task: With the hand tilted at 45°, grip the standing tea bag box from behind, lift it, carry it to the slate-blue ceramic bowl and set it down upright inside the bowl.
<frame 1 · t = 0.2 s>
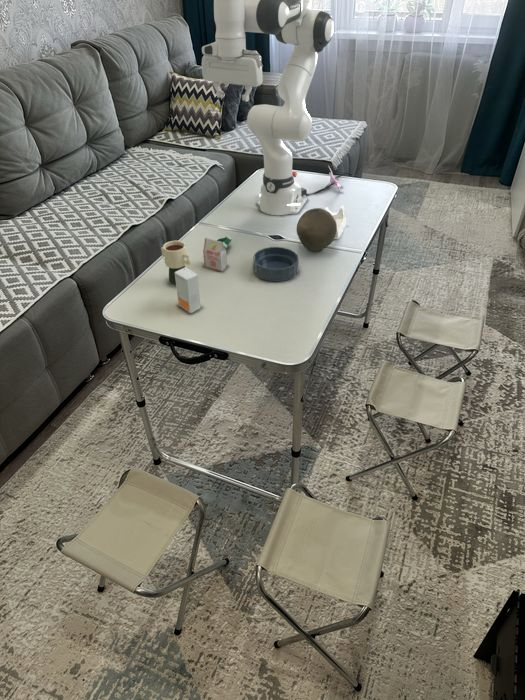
hand: (233, 99, 159), 48 cm above the table, tool pointing down, fingers open, 8 cm apart
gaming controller: (221, 250, 183), on the table
character mug: (178, 282, 166), on the table
bracket: (331, 232, 194), on the table
tea bag: (215, 267, 174), on the table
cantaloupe: (315, 250, 183), on the table
cosmetic box: (189, 307, 155), on the table
bowl: (275, 270, 171), on the table
lily: (333, 190, 225), on the table
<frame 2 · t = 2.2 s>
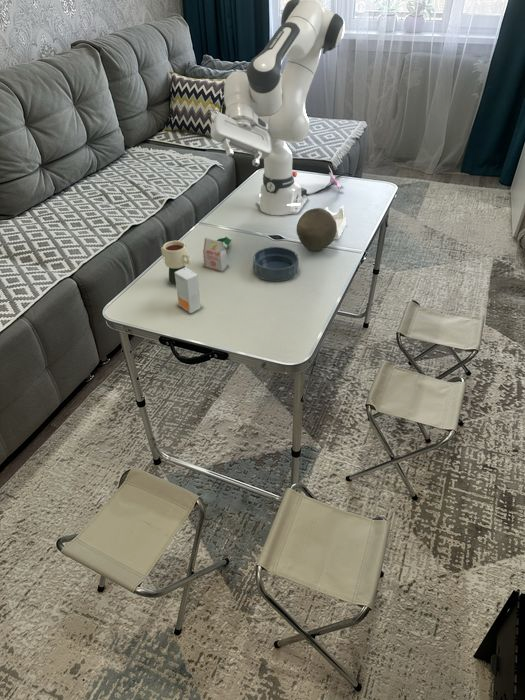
hand: (243, 160, 152), 36 cm above the table, tool tilted 55°, fingers open, 8 cm apart
nothing on the table moved.
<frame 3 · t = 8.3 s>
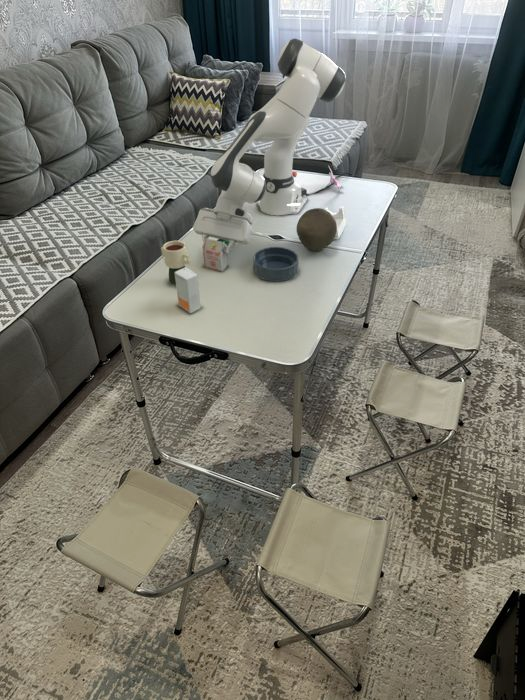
hand: (215, 250, 170), 6 cm above the table, tool tilted 45°, fingers closed on tea bag, 7 cm apart
tea bag: (215, 267, 174), on the table, touching gripper
everything else where it was.
when the fingers open (6 cm above the table, at t = 17.1 s): tea bag stays where it is, resting on bowl.
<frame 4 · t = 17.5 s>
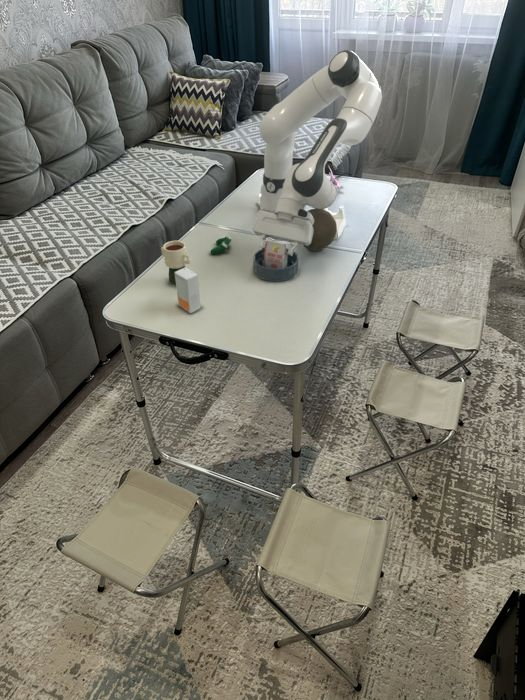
hand: (276, 252, 167), 7 cm above the table, tool tilted 45°, fingers open, 8 cm apart
tea bag: (275, 269, 171), resting on bowl
everything else where it was.
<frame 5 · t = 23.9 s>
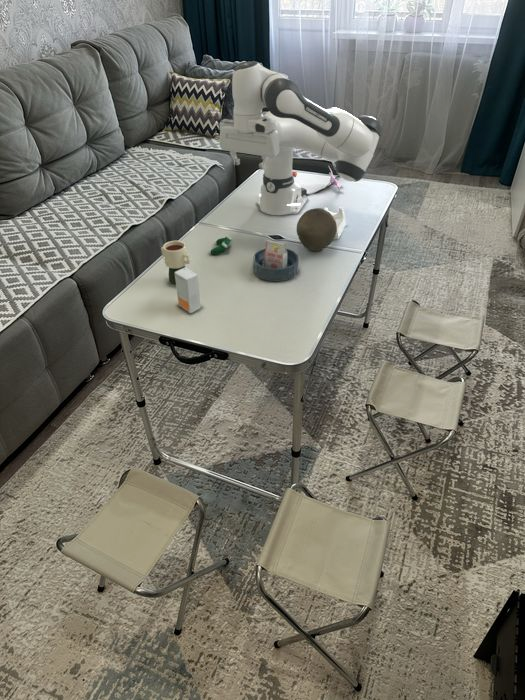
hand: (249, 166, 166), 29 cm above the table, tool pointing down, fingers open, 8 cm apart
nothing on the table moved.
at the end: tea bag inside the target area in the bowl (0.0 cm from its centre), point 0.4 cm above the bowl's base; tea bag tilted 0°; the gripper is holding nothing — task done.
